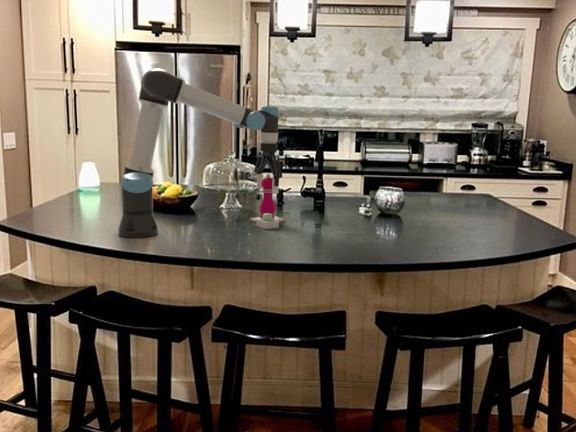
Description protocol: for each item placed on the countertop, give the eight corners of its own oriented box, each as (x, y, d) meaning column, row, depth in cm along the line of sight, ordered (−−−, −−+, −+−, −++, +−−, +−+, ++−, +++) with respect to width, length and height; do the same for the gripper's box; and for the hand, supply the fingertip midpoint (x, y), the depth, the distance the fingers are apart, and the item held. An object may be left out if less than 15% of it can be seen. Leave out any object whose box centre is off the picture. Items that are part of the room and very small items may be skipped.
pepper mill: (276, 217, 258) (277, 173, 254) (274, 221, 251) (275, 175, 247) (260, 216, 259) (261, 172, 255) (258, 220, 252) (259, 174, 248)
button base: (264, 229, 240) (264, 222, 239) (256, 225, 246) (256, 218, 245) (278, 227, 244) (278, 220, 243) (270, 224, 250) (270, 217, 249)
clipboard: (260, 224, 248) (260, 222, 248) (249, 220, 256) (249, 217, 256) (285, 221, 255) (285, 219, 255) (274, 217, 263) (274, 215, 263)
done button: (265, 223, 242) (266, 215, 241) (261, 222, 245) (261, 213, 244) (274, 223, 244) (274, 214, 243) (269, 221, 247) (269, 212, 246)
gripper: (291, 145, 240) (289, 195, 244) (262, 139, 260) (260, 186, 265) (276, 145, 236) (274, 196, 240) (247, 139, 256) (246, 186, 261)
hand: (267, 191), depth 253 cm, fingers open, 13 cm apart
